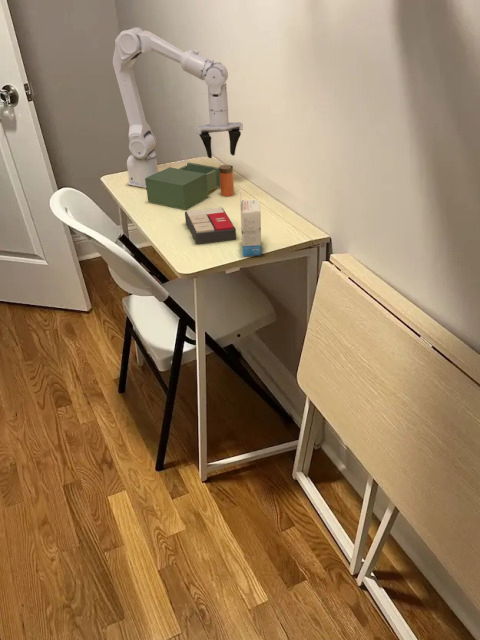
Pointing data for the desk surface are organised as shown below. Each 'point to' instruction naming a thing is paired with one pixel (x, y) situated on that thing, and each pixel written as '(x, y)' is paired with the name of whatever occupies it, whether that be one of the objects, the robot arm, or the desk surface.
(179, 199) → the cabinet
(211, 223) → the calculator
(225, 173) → the spice jar
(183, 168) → the drawer
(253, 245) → the ink box
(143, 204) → the desk surface
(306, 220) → the desk surface
